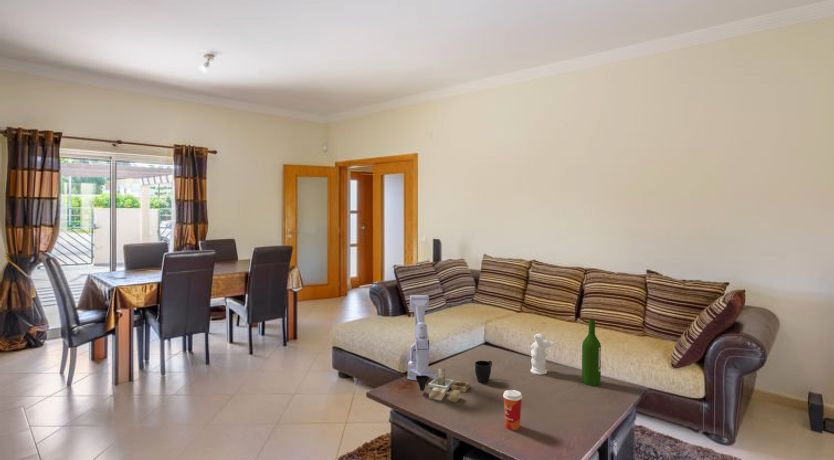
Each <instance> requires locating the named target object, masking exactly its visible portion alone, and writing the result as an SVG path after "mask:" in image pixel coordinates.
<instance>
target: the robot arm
mask: <svg viewBox="0 0 834 460" xmlns="http://www.w3.org/2000/svg"><path fill="white" fill-rule="evenodd" d="M429 306H430V296H429V295H428V294H419V295H418V294H415V295H413V294H411V295H410V296H409V309H410V311H413V313H414V343H413V344H411V345H410V349H409V360H408V363H407V378H406V379H407V380H412V381H415V382H417V384H418V386H419V390H420V392H424V391H425V389H426V385H427V382H428V380H429V378H433V379H434V378H437V377H438V372H433V371H431V370H429V360H430V351H429V350H430V338H429V335H428V333H429V332H428V325H427V324H426V323H425V318H426V317H425V314H426V313H425V311H427V310H428V308H429Z"/></svg>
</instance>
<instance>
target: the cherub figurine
mask: <svg viewBox="0 0 834 460" xmlns="http://www.w3.org/2000/svg"><path fill="white" fill-rule="evenodd" d="M533 338H534V342H533V343H532V344H530V347H529V348H530V349H531V352H530V355H531V360H530V364H531V368H530V373H532V374H533V375H539V376H540V375H546V374H547V372H548V370H547V369H546V365H547V360H546V357H547V352H546V349H547V348H550V347H552V346H553V345H554V343H555V342H554V341H550V340H549V339H545V338H546V337H545V335H543V334H542V333H536V334H534V336H533Z"/></svg>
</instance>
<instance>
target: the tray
mask: <svg viewBox="0 0 834 460" xmlns="http://www.w3.org/2000/svg"><path fill="white" fill-rule="evenodd" d="M454 383H455V380H454V379H449V378H445V385H444V386H442V385H438V376H437V378H433V379H432V380H430V381H429V382H428V383H427V388H428V389H433V388H440V389H446V392H448V391H449V389H450V388H452V385H453V384H454Z"/></svg>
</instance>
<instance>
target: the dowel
mask: <svg viewBox="0 0 834 460" xmlns="http://www.w3.org/2000/svg"><path fill="white" fill-rule="evenodd" d="M437 377H438V385H442V386H444V385H445V379H446V368H445V367H438V368H437Z"/></svg>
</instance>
